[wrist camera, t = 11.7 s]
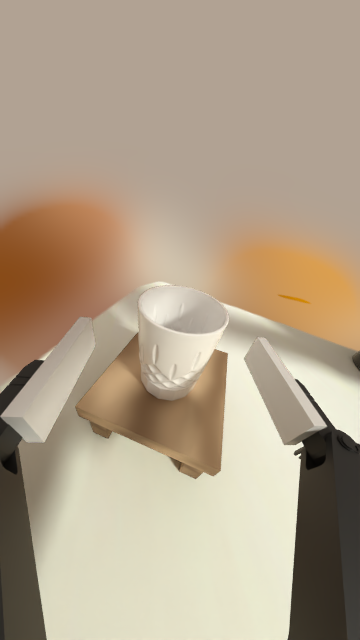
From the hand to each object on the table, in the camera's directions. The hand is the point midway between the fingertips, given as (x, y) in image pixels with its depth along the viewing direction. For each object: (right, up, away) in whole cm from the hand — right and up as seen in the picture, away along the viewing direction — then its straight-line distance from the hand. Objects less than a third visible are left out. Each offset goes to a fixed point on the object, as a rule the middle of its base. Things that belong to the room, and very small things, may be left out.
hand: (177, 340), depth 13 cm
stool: (-2, -11, +11) cm, 15 cm away
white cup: (-1, -5, +7) cm, 9 cm away
